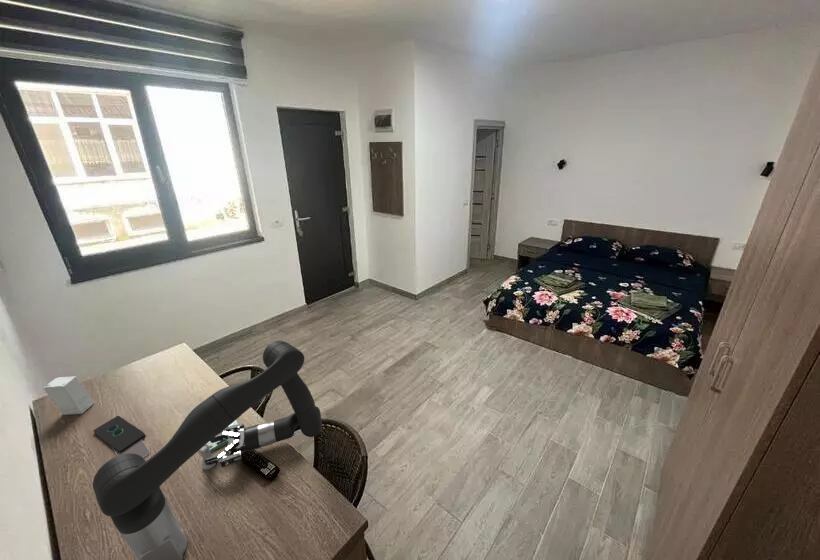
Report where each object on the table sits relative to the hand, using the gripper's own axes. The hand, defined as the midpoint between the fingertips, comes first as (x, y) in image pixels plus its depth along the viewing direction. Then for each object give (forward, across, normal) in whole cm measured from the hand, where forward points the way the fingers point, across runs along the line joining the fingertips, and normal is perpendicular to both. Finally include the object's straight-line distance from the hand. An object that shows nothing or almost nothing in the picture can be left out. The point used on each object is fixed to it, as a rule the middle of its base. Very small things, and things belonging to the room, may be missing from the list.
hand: (207, 450), depth 104 cm
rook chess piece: (+1, 0, +6) cm, 6 cm away
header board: (0, -15, +6) cm, 16 cm away
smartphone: (+28, -17, +7) cm, 34 cm away
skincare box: (+57, -48, +6) cm, 74 cm away
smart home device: (+35, -26, +7) cm, 44 cm away
